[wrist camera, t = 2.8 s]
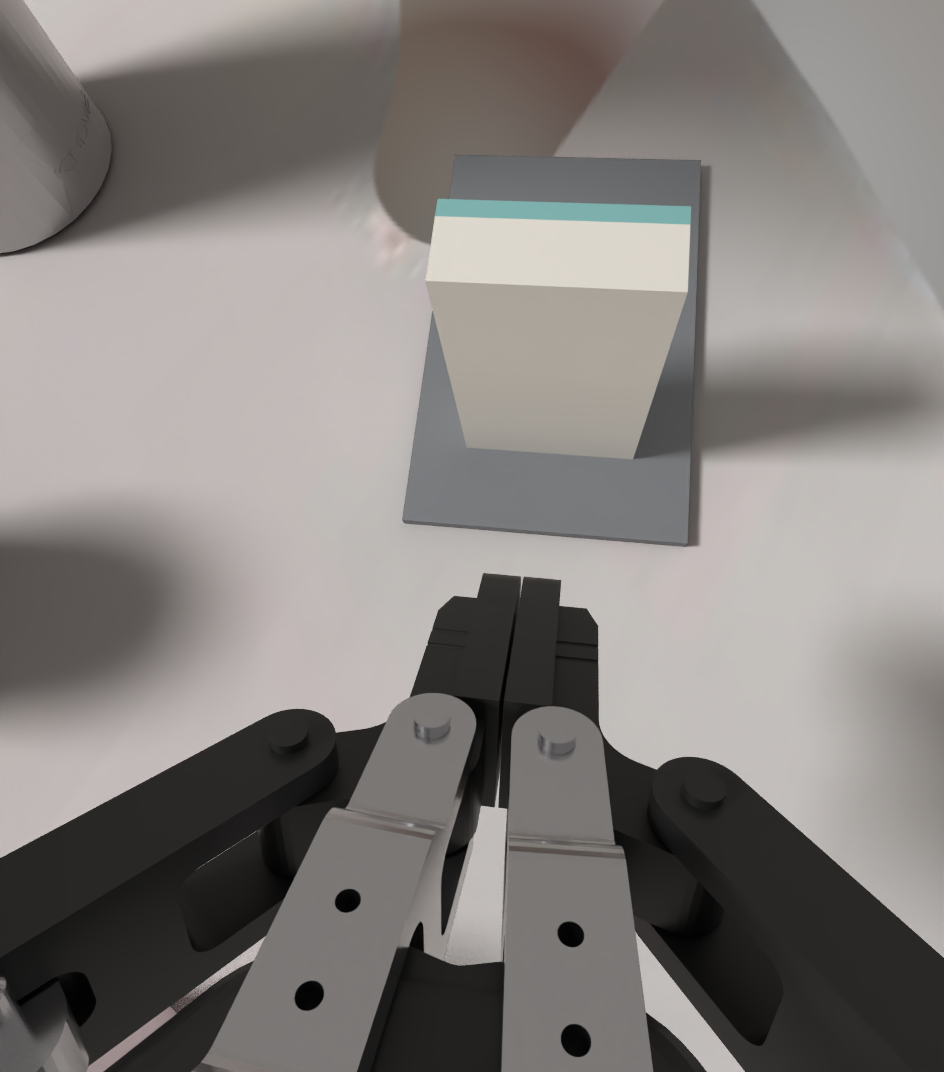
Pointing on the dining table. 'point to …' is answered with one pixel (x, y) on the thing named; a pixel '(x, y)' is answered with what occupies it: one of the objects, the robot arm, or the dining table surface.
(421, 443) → the mat
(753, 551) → the dining table surface
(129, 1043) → the smoothie
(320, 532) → the dining table surface
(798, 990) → the robot arm
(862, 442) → the dining table surface
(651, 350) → the tile
